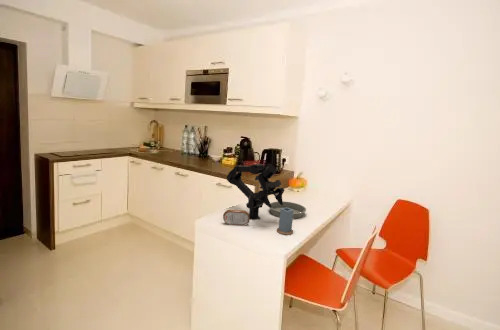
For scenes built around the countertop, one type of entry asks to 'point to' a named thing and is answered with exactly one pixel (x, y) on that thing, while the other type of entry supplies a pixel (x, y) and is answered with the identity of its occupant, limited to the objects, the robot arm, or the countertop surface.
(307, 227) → the countertop surface
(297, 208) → the cake pan
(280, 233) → the pin base
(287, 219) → the sleeve
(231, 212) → the tin
